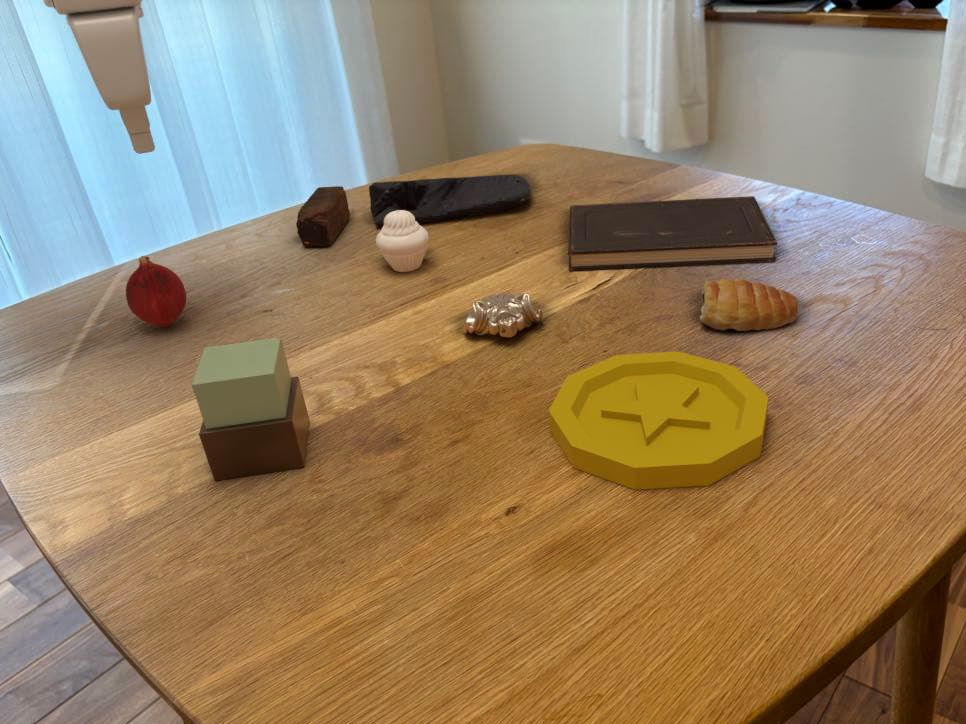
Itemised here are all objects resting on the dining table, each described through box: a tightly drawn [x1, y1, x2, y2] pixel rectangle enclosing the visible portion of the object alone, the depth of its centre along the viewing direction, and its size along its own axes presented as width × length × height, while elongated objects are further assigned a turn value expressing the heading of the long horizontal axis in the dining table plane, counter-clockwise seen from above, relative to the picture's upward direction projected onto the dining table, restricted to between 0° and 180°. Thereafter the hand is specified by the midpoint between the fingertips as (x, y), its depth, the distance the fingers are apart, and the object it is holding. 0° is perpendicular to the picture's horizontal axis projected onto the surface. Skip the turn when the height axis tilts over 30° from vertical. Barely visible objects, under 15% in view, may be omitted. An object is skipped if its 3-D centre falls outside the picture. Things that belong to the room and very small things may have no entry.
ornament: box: [462, 292, 544, 338], centre depth 85 cm, size 8×7×4 cm
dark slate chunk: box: [368, 173, 531, 227], centre depth 118 cm, size 15×22×5 cm
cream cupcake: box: [375, 210, 430, 273], centre depth 100 cm, size 6×6×7 cm
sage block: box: [191, 336, 292, 429], centre depth 67 cm, size 6×6×4 cm
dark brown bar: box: [295, 185, 351, 248], centre depth 112 cm, size 11×4×5 cm, turn 177°
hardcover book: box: [567, 195, 778, 272], centre depth 102 cm, size 16×23×2 cm
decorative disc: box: [548, 350, 770, 491], centre depth 69 cm, size 17×18×2 cm
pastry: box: [699, 277, 799, 332], centre depth 83 cm, size 9×7×4 cm
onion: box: [125, 255, 187, 329], centre depth 90 cm, size 6×6×8 cm
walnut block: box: [198, 375, 311, 482], centre depth 70 cm, size 7×7×4 cm
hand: (143, 139), depth 82 cm, fingers open, 8 cm apart
